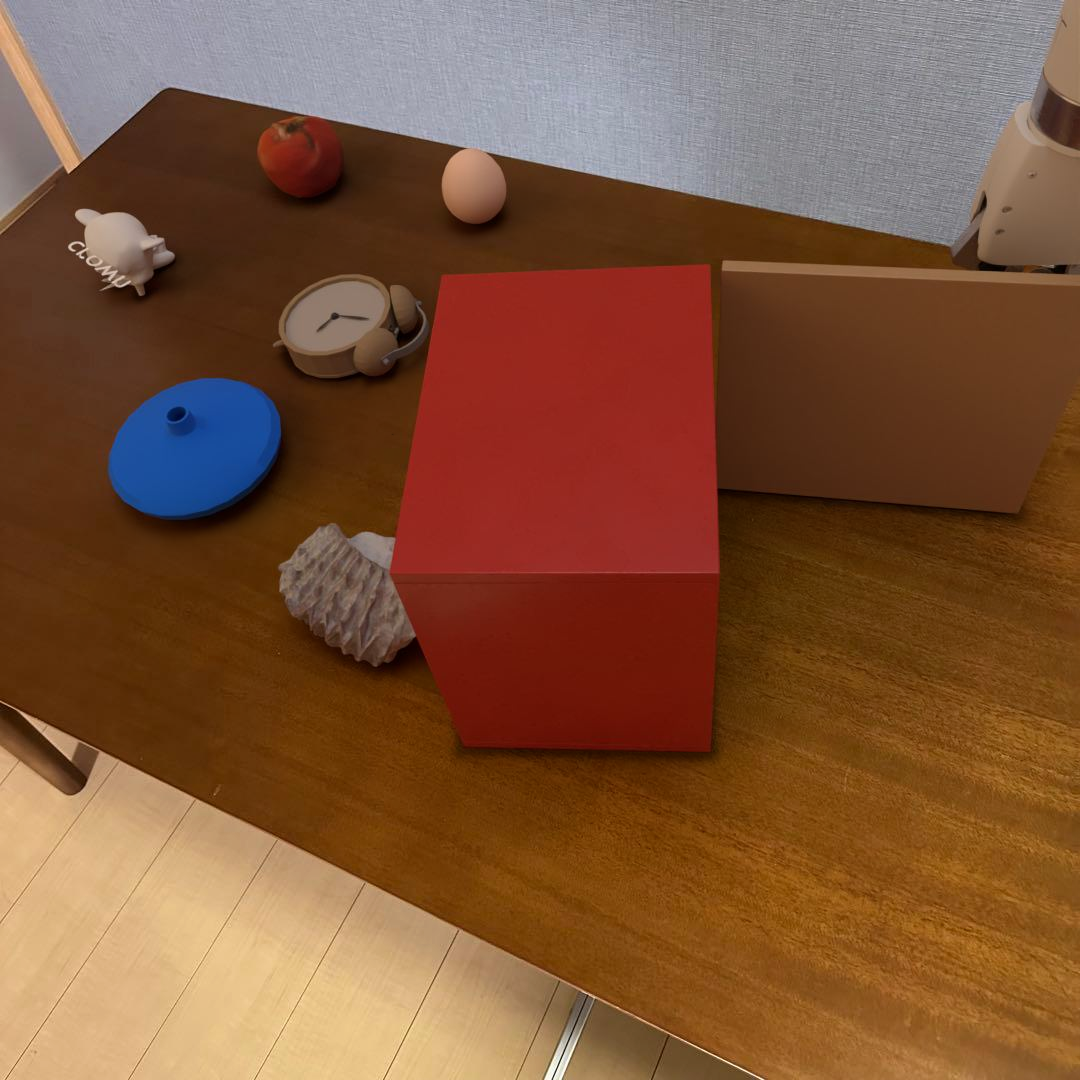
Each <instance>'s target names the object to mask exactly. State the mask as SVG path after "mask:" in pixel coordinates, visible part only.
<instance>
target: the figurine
mask: <svg viewBox="0 0 1080 1080" xmlns="http://www.w3.org/2000/svg"><path fill="white" fill-rule="evenodd" d="M74 216H75V219H76V220H77V221H78V222H80V223H81V224H82V225H83V226H85V228H84V232H83V234H84V242H85V243H83V242H81V241H73V242H70V243H69V244H68V245H67V246H68V247H67V248H68V250H69V251H71V252H76V251H77V249H73V247H72V246H74V245H76V244H77V245H80V246H81V247H82V248H84V249H81V250H80V251H78V252H77V253H75V255H76V256H78V257H79V259H80V260H81V259H82V260H84V259H85V256H82V254H83V253H85V252H86V253H85V254H86V256H87V257H86V260H85V262H86V264H87V265H88V266H91V267H94V270H95V272H97V273H98V274H101V276H108V277H105V278H103V279H102V280H101V282H103V283H110V284H109V285H106V286H105V287H103V288H102V289H100V290H99V292H100V291H101V292H102V291H104V290H107V289H110V288H113V287H116V288H123V287H125V286H133V287H134V288H135V290H136V291H137V294H138V296H140V297H141V296H145V295H146V291H145V286H144V285H145V284H146V283H147V282H148V281H149V280H151V279H152V278H153V277H154V274H155V273H154V270H157V269H160V268H162V267H165V266H168V265H169V264H171V263H172V262H174V260H175V258H176V255H175V253H174V252H172V251H171V250H168V249H167V247H166V243H165V237H158V235H157V234H152V235H149V233H148V231H147V229H146V228H145V226H144V225H143V223H142V222H141V221H140V220H138V219H137V217H135V216H134V215H131V214H129V213H127V212H117V211H115V212H107V213H104V214H101V213H100V212H98V211H96V210H93V209H90V208H80V209H77V210H76V211H75V214H74Z"/></svg>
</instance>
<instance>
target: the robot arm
mask: <svg viewBox="0 0 1080 1080" xmlns="http://www.w3.org/2000/svg"><path fill="white" fill-rule="evenodd" d="M949 252H950V253H949V254H950V258H951V262H952V264H953V265H955V266H957V267H959V268H963V269H966V270H970V271H994V272H1019V273H1024V271H1025V268H1026V267H1027V266H1053V267H1046V268H1045V269H1048V270H1050V271H1052V272H1053V273H1055V274H1067V275H1080V0H1063V2H1062V5H1061V9H1060V12H1059V15H1058V18H1057V22H1056V25H1055V28H1054V31H1053V34H1052V37H1051V41H1050V44H1049V46H1048V50H1047V53H1046V57H1045V60H1044V63H1043V66H1042V69H1041V73H1040V74H1039V79H1038V82H1037V85H1036V88H1035V91H1034V94H1033V97H1032V100H1030V101H1024V102H1021V103H1019V104H1018V105H1017V106H1016V108H1015V109H1014V110H1013V113H1012V114H1011V116H1010V117H1009V119H1008V121H1007V122H1006V124H1005V126H1004V128H1003V130H1002V131H1001V134H1000V136H999V137H998V140H997V142H996V144H995V146H994V148H993V150H992V152H991V154H990V157H989V158H988V161H987V163H986V166H985V169H984V170H983V174H982V176H981V178H980V181H979V184H978V187H977V189H976V191H975V195H974V198H973V200H972V204H971V207H970V213H969V225H968V226H967V227H966V228H965V229H964V231H962V233H961V234H960V235H959V236H958V238H957V239H956V240H955V241H954V242H953V243H952V245H951V246H950V247H949Z"/></svg>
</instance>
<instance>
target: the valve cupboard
mask: <svg viewBox="0 0 1080 1080" xmlns="http://www.w3.org/2000/svg"><path fill="white" fill-rule="evenodd" d="M437 296H438V297H437V302H436V308H435V313H434V319H433V325H432V329H431V335H430V340H429V341H430V342H429V347H428V353H427V358H426V363H425V370H424V375H423V380H422V387H421V392H420V398H419V402H418V403H419V404H418V409H417V414H416V420H415V425H414V431H413V437H412V441H411V448H410V454H409V458H408V459H409V460H408V465H407V471H406V476H405V477H406V478H405V481H404V487H403V493H402V499H401V505H400V510H399V517H398V522H397V528H396V532H395V537H394V538H395V544H394V549H393V555H392V561H391V566H390V572H389V574H390V576H391V579H392V581H393V584H394V586H395V588H396V591H397V593H398V595H399V598H400V600H401V602H402V604H403V607H404V609H405V611H406V614H407V616H408V618H409V621H410V623H411V625H412V628H413V630H414V632H415V635H416V637H415V638H416V640H417V642H418V644H419V646H420V648H421V650H422V653H423V655H424V658H425V660H426V662H427V664H428V667H429V669H430V671H431V675H432V676H433V678H434V681H435V684H436V685H437V688H438V690H439V693H440V695H441V697H442V699H443V702H444V704H445V706H446V709H447V711H448V714H449V715H450V718H451V720H452V722H453V724H454V727H455V729H456V732H457V734H458V736H459V738H460V740H461V743H462V745H463V747H464V748H497V749H498V748H501V749H542V750H543V749H544V750H545V749H549V750H550V749H551V750H590V751H594V750H595V751H597V750H599V751H641V752H643V751H646V752H652V751H653V752H688V753H691V752H692V753H693V752H694V753H710V752H712V751H711V748H712V732H713V730H712V729H713V714H714V713H713V712H714V695H715V693H714V692H715V678H716V677H715V675H716V674H715V673H716V658H717V639H718V638H717V637H718V619H719V599H720V585H721V584H720V581H721V559H720V557H721V556H720V555H721V554H720V529H719V528H720V527H719V494H718V492H719V491H718V488H717V458H716V400H715V399H716V397H715V393H716V392H715V371H714V370H715V368H714V367H715V366H714V365H715V364H714V363H715V362H714V335H713V334H714V333H713V331H714V330H713V329H714V328H713V301H712V299H713V298H712V296H713V295H712V267H711V264H709V263H707V264H684V265H683V264H681V265H659V266H658V265H657V266H633V267H632V266H631V267H606V268H579V269H559V270H557V269H556V270H534V271H533V270H532V271H531V270H529V271H508V272H505V271H504V272H482V273H481V272H480V273H460V274H442V275H441V278H440V285H439V291H438V295H437Z"/></svg>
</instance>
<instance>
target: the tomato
mask: <svg viewBox="0 0 1080 1080" xmlns="http://www.w3.org/2000/svg"><path fill="white" fill-rule="evenodd" d="M257 158H258V162H259V164H260V166H261V168H262V170H263V172H265V174H266V175H267V177H268V179H269V180H270V181H271V183H273V184H274V185H275V186H276V187H277V188H278V189H279V190H281V191H282V192H283V193H285V194H287V195H290V196H293V197H296V198H297V199H303V198H314V197H316V196H319V195H321V194H324V193H326V192H327V191H330V190H332V189H333V188H334V187H335V186H336V184H337V182H338V180H339V178H340V176H341V175H342V172H343V169H344V162H345V151H344V148H343V145H342V143H341V141H340V139H339V137H338V135H337V134H336V131H335V130H334V128H333V126H332V125H331V124H330V123H329V122H328V121H327V120H326V119H323V118H321V117H318V116H310V115H309V116H306V115H305V116H298V115H297V116H296V115H295V116H292V117H290V118H286V119H282V120H280V121H277V122H273V123H271V125H270V127H269V128H267V129H266V130H264V132H263V133H262V134H261V135H260V137H259V141H258V145H257Z"/></svg>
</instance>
